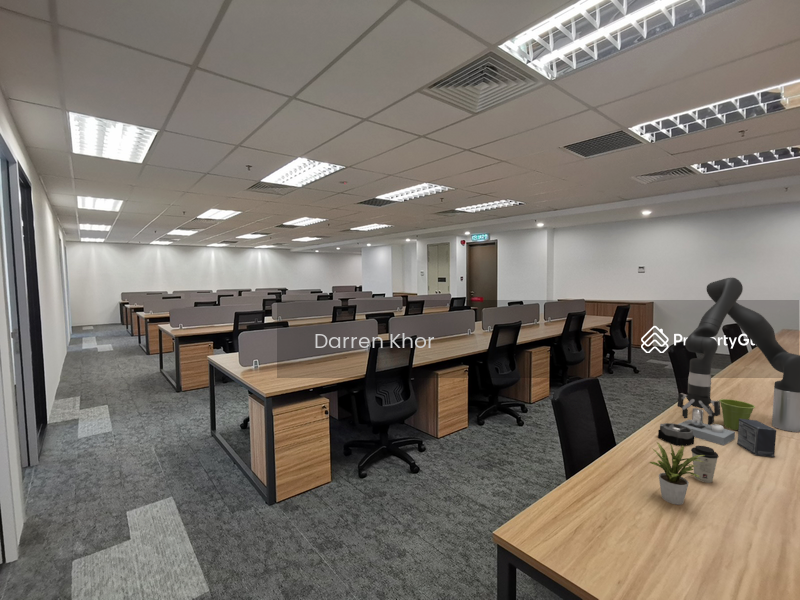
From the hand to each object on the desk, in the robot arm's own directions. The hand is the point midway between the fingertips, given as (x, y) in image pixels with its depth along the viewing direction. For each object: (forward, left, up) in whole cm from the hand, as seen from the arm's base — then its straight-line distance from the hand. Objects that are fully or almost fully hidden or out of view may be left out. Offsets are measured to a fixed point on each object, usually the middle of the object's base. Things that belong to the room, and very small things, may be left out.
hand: (697, 421), depth 160 cm
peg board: (0, +3, -5) cm, 6 cm away
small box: (+1, +19, -5) cm, 20 cm away
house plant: (+67, +18, -5) cm, 70 cm away
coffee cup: (+44, +17, -5) cm, 48 cm away
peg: (0, 0, -5) cm, 5 cm away
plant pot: (-21, +7, -5) cm, 23 cm away
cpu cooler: (+17, -1, -5) cm, 18 cm away
